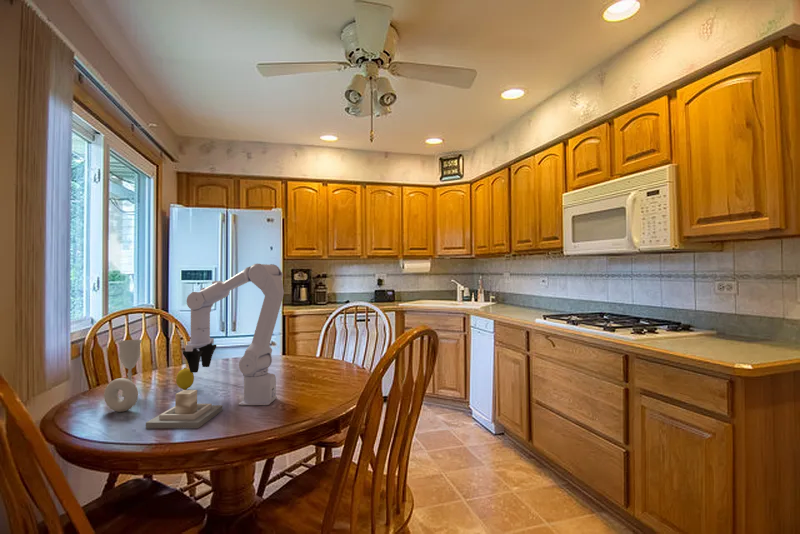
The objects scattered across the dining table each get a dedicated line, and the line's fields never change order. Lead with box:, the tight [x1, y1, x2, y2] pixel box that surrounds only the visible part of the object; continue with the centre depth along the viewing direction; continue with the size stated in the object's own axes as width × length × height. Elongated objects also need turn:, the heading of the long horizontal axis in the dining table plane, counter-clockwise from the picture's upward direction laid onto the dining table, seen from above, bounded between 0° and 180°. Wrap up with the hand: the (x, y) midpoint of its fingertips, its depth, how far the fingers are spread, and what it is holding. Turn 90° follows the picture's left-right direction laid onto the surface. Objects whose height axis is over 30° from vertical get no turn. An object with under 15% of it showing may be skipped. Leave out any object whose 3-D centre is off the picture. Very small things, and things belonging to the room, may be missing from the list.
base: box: [145, 403, 223, 429], centre depth 113 cm, size 14×14×3 cm
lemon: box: [175, 367, 195, 390], centre depth 141 cm, size 6×6×8 cm
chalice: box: [117, 339, 143, 397], centre depth 137 cm, size 7×7×18 cm
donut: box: [103, 377, 139, 413], centre depth 119 cm, size 10×4×10 cm, turn 84°
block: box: [174, 389, 198, 414], centre depth 113 cm, size 4×4×6 cm
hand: (200, 369), depth 132 cm, fingers open, 7 cm apart
